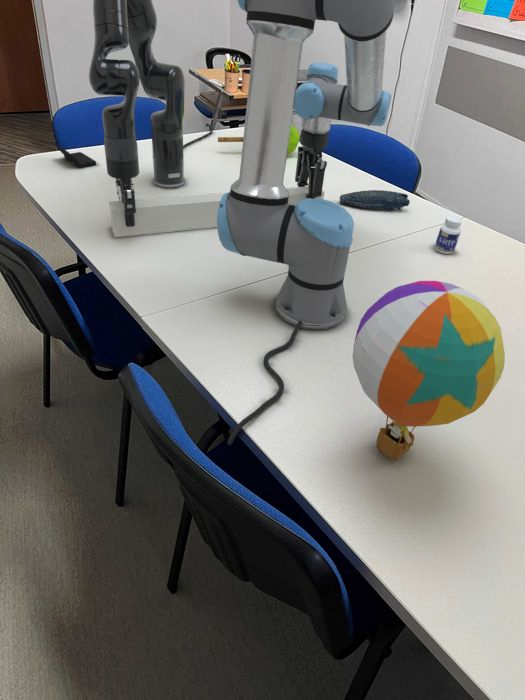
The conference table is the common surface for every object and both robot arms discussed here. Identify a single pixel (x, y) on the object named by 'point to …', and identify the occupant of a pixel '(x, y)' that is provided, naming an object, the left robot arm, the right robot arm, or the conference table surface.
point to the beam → (178, 213)
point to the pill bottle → (448, 235)
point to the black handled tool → (77, 158)
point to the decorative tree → (292, 144)
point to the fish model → (376, 199)
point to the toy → (426, 358)
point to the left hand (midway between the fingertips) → (127, 219)
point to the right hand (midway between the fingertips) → (304, 212)
